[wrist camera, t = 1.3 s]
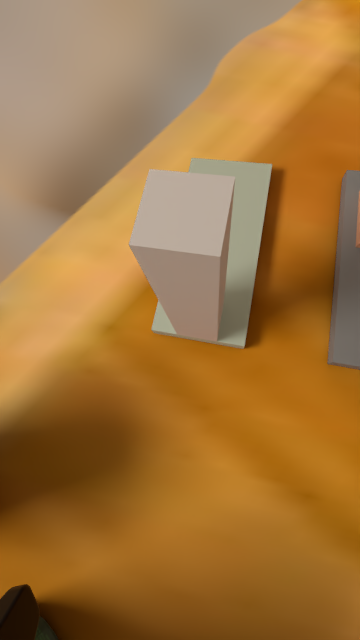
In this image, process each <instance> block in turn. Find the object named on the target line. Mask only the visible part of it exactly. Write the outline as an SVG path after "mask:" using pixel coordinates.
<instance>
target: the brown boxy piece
mask: <svg viewBox="0 0 360 640" xmlns="http://www.w3.org/2000/svg"><path fill="white" fill-rule="evenodd" d="M359 191H360V171H353V170H347V171H346V173H345V175H344V177H343V179H342V189H341V201H340V214H339V227H338V239H337V252H336V264H335V277H334V289H333V302H332V315H331V327H330V340H329V352H328V364H331V365H337V366H342V367H348V368H353V369H359V370H360V248H357V247H356V233H357V217H358V201H359Z"/></svg>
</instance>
